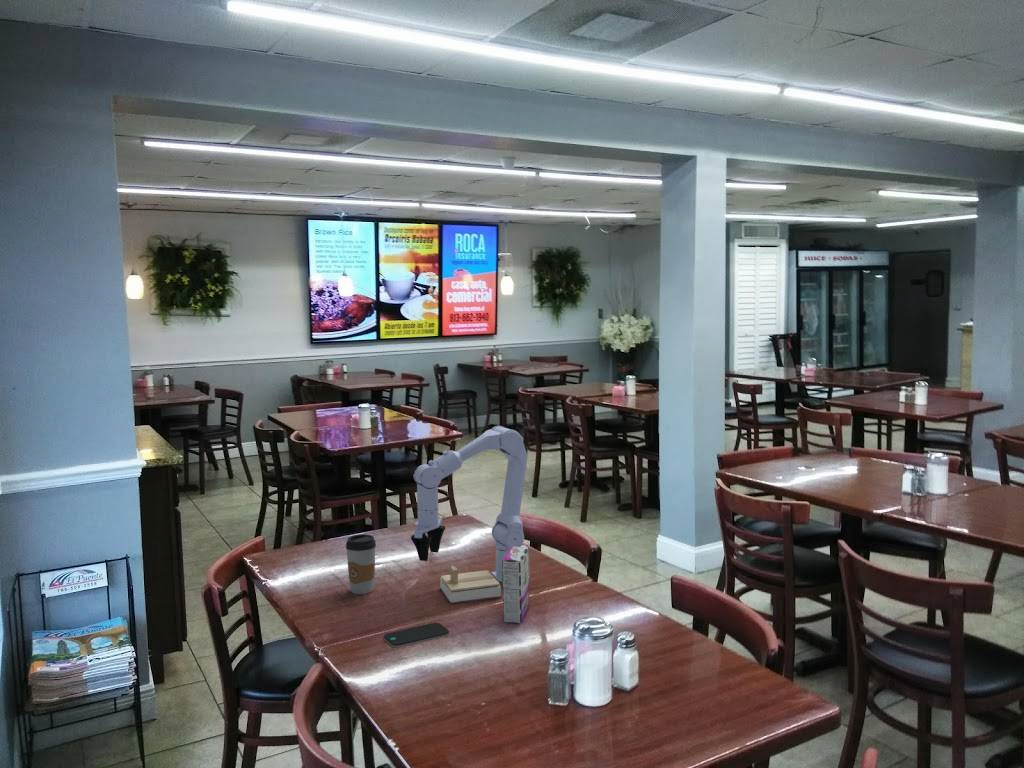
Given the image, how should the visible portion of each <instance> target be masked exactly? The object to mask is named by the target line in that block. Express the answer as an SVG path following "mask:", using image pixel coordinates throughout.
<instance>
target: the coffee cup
mask: <svg viewBox="0 0 1024 768" xmlns="http://www.w3.org/2000/svg"><path fill="white" fill-rule="evenodd" d="M346 540H347V541H346V542H345V549H346V557H347V570H348V571H347V572H348V579H349V589H350V591H351V593H352V594H354V595H366V594H369V593H371V592H373V589H374V586H375V573H376V572H375V571H376V570H375V568H376V546H377V544H376V543H377V542H376V539H375V537H374V535H371V534H356V535H351V536H349V537H347V539H346Z"/></svg>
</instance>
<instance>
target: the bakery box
mask: <svg viewBox="0 0 1024 768" xmlns="http://www.w3.org/2000/svg"><path fill="white" fill-rule="evenodd" d="M439 580H440V581H439V582H440V583H439V585H440V591H441V592H442V594H444V596H445V598H446V599H447V600H448V602H449V603H450V605H453V604H460V603H469V602H476V601H477V602H478V601H485V600H492V599H499V598H501V597H502V589H501V588H502V587H501V585H500V586H492V587H484V588H476V589H468V590H460V591H452V592H451V591H450V589H449V588H448V586H447V585H446V584H445V582H444V581H443V579H442V578H441V577H440V579H439Z"/></svg>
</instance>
